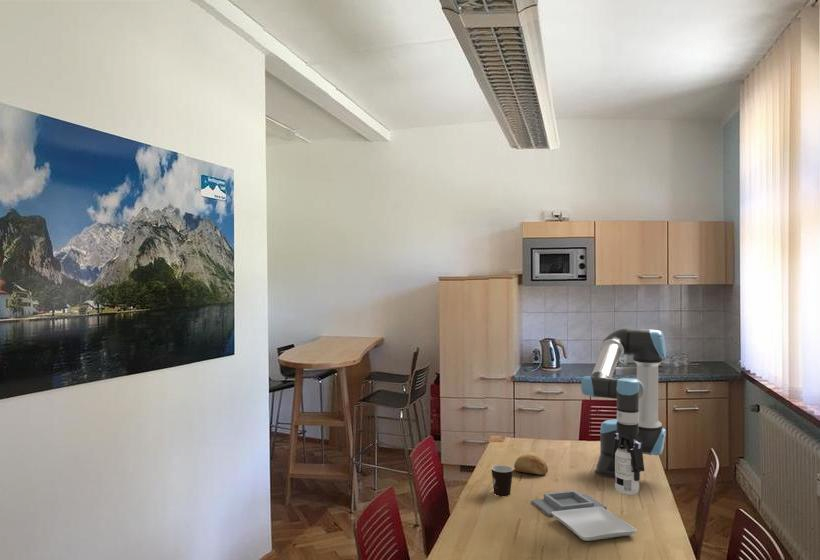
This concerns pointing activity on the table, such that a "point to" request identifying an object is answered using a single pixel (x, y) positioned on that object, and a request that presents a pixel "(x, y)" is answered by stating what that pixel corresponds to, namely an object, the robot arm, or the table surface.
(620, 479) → the supplement can
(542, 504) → the dock
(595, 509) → the salad plate
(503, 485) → the coffee mug
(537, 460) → the bread roll
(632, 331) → the robot arm
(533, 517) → the table surface
